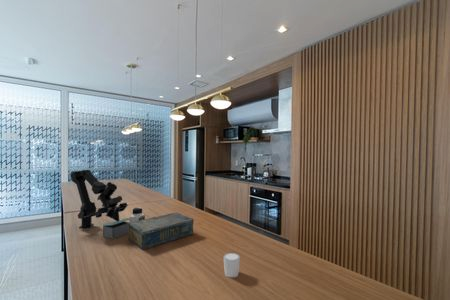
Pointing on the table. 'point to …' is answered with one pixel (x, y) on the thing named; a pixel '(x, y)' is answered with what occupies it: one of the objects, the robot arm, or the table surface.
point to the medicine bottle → (137, 215)
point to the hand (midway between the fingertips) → (118, 220)
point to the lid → (116, 221)
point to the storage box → (116, 230)
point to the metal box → (160, 230)
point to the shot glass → (231, 264)
